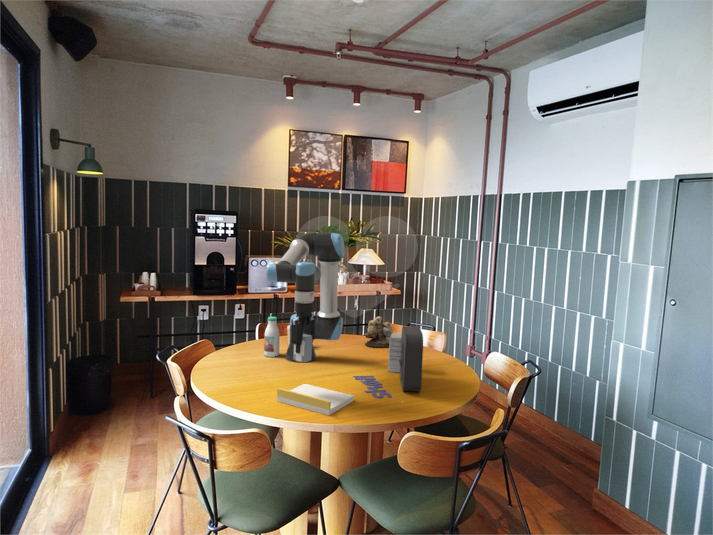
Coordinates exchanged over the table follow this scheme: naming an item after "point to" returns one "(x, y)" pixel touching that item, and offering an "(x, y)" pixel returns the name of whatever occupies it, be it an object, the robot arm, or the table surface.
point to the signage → (373, 383)
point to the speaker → (411, 358)
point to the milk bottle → (271, 338)
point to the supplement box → (394, 352)
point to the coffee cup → (288, 334)
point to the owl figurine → (378, 333)
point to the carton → (305, 348)
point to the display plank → (314, 398)
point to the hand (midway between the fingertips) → (302, 359)
